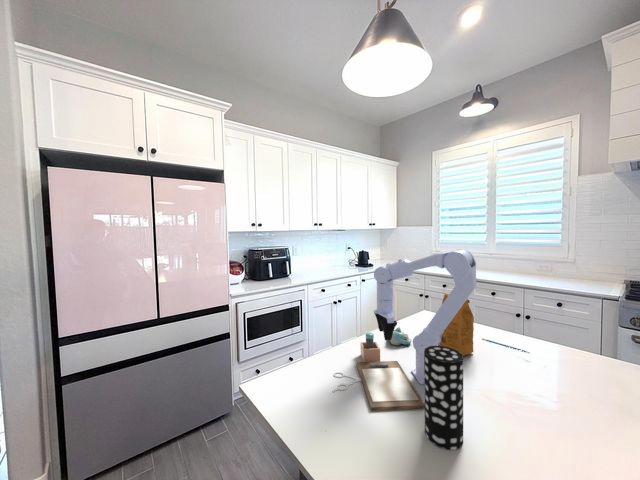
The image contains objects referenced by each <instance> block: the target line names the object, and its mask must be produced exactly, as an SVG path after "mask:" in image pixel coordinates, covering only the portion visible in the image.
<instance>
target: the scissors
mask: <svg viewBox="0 0 640 480" xmlns="http://www.w3.org/2000/svg"><path fill="white" fill-rule="evenodd" d="M337 374H340V375H341V376H340V375H337ZM332 375H333V377H334V378H337V379H342V378H349V379H353V381H352V382H350V383H339V384H338V385H337V386H336V389H332V393H335V392H337V391H340V392H344V391H347V390H348V389H349V387H350V386H353V385H354V384H355V383H359V382H360V383H361V382H362V380H361V377H356V376H351V375H346V374H345V373H342V372H339V371H338V372H337V371H336V372H334V373H333V374H332ZM354 379H355V380H354ZM341 386H343V387H344V388H340V387H341Z"/></svg>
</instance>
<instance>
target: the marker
mask: <svg viewBox="0 0 640 480" xmlns="http://www.w3.org/2000/svg"><path fill="white" fill-rule="evenodd" d="M374 337H375V334H374V333H373V332H366V333H365V342H366V349H373V342H374Z"/></svg>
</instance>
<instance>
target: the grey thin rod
mask: <svg viewBox="0 0 640 480" xmlns="http://www.w3.org/2000/svg"><path fill="white" fill-rule="evenodd" d="M481 340H483V341H486V342H489V343H493V344H497V345H500V346H503V347H505V348H509V347H510V348H509V349H512V348H513V350H516V349H518V350H517V351H519V350H522V351H521V352H523V351H524V352H523V353H526V352H528V353H527V354H530V352H529V351H527V350H523V349H520V348H517V347H513V346H510V345H506V344H503V343H499V342H496V341H494V340H493V341H492V340H489V339H486V338H481Z"/></svg>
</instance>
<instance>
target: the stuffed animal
mask: <svg viewBox="0 0 640 480" xmlns="http://www.w3.org/2000/svg"><path fill="white" fill-rule="evenodd" d="M389 342H390V344H392V345H394V346H400V345H404V346H408V345H410V344H411V342H413V339H411V338H409V334H408V333H405V332H404V331H402V330H401V327H400V326H398V327H396V328H395V329H394V331H393V335H392V339H391V340H389Z"/></svg>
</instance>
